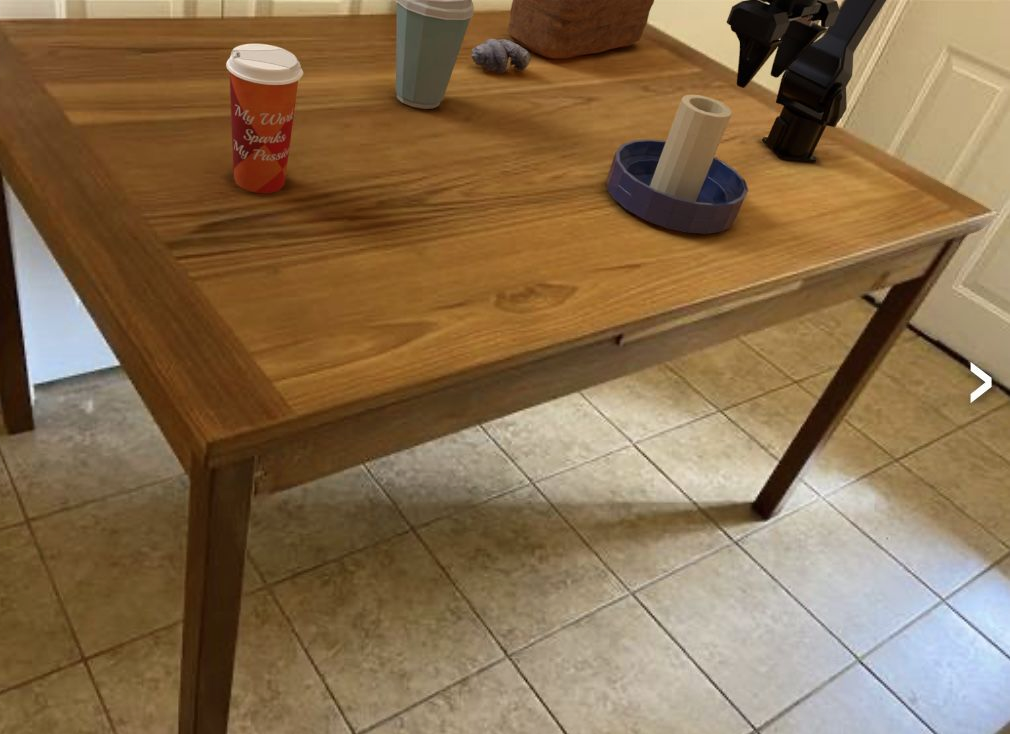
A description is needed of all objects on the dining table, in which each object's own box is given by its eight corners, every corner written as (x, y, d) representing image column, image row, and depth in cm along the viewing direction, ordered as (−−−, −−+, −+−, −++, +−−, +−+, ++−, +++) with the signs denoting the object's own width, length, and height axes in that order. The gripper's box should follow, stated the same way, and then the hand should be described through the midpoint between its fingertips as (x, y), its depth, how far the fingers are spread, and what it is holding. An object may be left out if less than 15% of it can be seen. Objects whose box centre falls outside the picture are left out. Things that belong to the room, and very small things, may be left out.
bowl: (701, 175, 122) (714, 145, 119) (755, 241, 110) (770, 209, 107) (588, 166, 118) (598, 134, 115) (631, 233, 106) (643, 200, 103)
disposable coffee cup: (371, 102, 120) (386, -14, 111) (393, 77, 128) (409, -33, 119) (445, 123, 120) (467, 8, 110) (463, 96, 128) (484, -13, 118)
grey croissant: (521, 77, 141) (466, 79, 137) (516, 42, 140) (461, 43, 136) (539, 67, 136) (483, 69, 132) (534, 31, 136) (477, 32, 131)
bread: (491, 37, 149) (507, -40, 141) (591, 21, 166) (610, -50, 158) (552, 69, 143) (572, -10, 135) (649, 49, 160) (673, -23, 152)
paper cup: (227, 197, 95) (230, 68, 86) (221, 163, 100) (223, 38, 91) (299, 199, 98) (309, 74, 88) (290, 166, 103) (298, 44, 94)
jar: (667, 183, 117) (701, 91, 108) (703, 205, 114) (741, 112, 105) (638, 191, 113) (672, 97, 105) (674, 214, 110) (712, 119, 102)
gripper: (788, -72, 114) (740, 49, 125) (715, -66, 103) (669, 67, 113) (866, -43, 109) (809, 80, 120) (799, -34, 98) (742, 102, 108)
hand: (757, 81), depth 115 cm, fingers open, 9 cm apart
